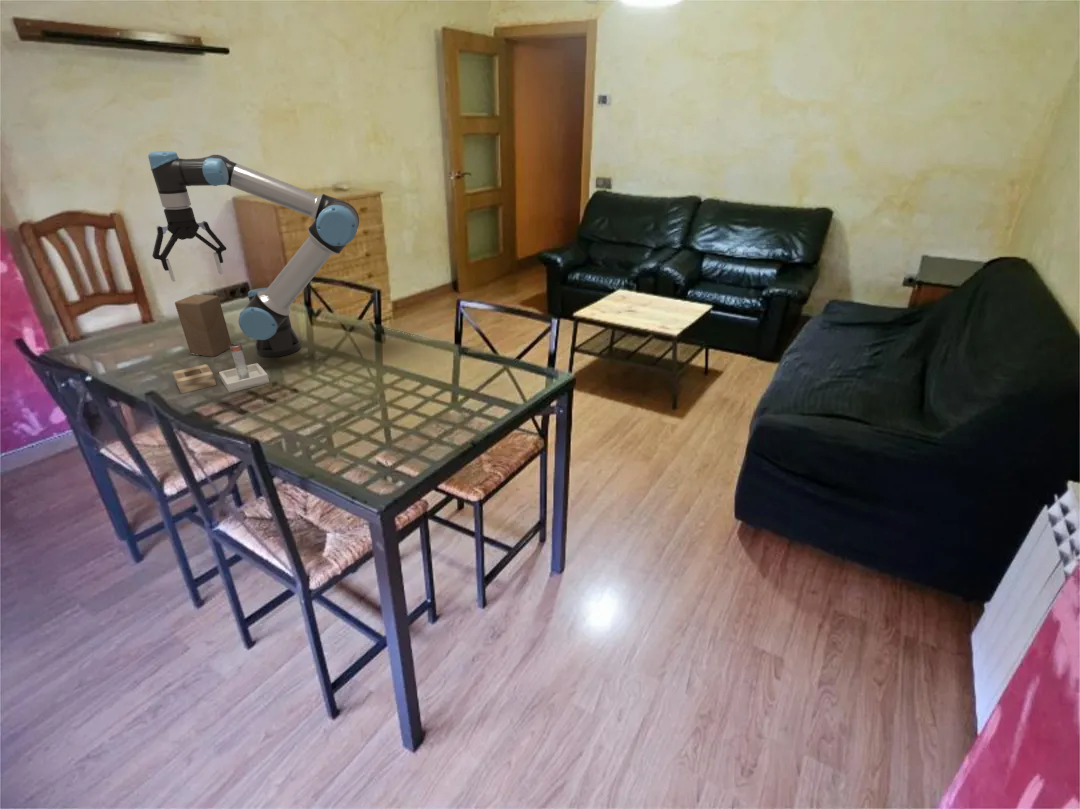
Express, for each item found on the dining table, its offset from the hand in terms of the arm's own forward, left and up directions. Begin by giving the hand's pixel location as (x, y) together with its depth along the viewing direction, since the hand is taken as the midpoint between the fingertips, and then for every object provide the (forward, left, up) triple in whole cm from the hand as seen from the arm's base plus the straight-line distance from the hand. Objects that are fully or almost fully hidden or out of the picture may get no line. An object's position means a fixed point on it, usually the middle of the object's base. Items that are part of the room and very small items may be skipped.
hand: (197, 276), depth 180 cm
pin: (-3, +17, -31) cm, 35 cm away
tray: (-3, +17, -32) cm, 36 cm away
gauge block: (+10, +9, -32) cm, 34 cm away
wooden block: (0, -19, -32) cm, 37 cm away
